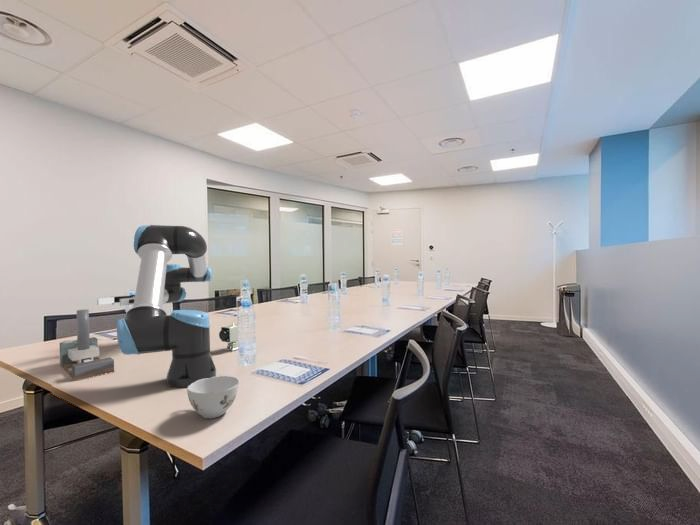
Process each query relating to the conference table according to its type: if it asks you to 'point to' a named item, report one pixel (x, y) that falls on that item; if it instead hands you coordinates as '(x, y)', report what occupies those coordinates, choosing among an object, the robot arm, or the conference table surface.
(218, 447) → the conference table surface
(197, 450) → the conference table surface
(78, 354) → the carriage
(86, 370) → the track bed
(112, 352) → the conference table surface
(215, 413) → the white floral bowl
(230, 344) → the pneumatic valve
